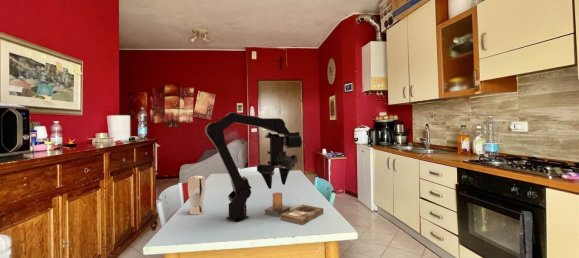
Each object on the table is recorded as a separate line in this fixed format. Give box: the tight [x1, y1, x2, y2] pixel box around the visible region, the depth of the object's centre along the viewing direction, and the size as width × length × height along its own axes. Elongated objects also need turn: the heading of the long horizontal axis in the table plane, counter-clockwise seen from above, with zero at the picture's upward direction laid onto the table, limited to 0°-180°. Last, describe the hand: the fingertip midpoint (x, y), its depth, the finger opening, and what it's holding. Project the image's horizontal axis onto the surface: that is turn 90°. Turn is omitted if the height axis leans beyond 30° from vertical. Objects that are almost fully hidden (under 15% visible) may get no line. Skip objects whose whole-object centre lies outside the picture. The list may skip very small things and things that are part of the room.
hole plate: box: [279, 204, 324, 226], centre depth 110 cm, size 16×10×2 cm, turn 145°
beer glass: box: [187, 175, 206, 215], centre depth 117 cm, size 7×7×15 cm
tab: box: [264, 205, 291, 218], centre depth 115 cm, size 8×7×2 cm
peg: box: [272, 192, 283, 210], centre depth 115 cm, size 4×4×6 cm
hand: (277, 186), depth 115 cm, fingers open, 9 cm apart
